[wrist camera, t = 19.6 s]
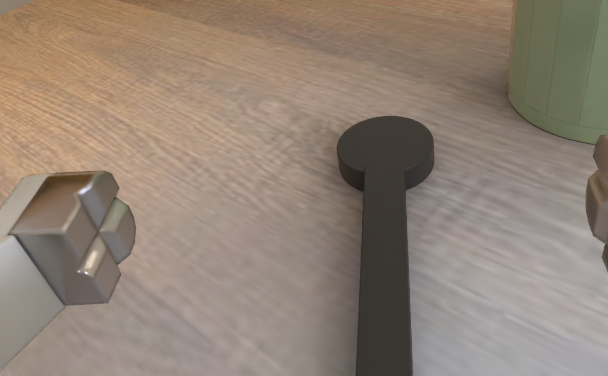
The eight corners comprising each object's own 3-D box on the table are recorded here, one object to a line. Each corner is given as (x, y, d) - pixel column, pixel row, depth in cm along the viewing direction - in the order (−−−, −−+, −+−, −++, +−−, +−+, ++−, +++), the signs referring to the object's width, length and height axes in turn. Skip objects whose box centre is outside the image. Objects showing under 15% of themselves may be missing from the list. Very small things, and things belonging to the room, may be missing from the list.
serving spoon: (496, 759, 13) (499, 752, 13) (286, 731, 14) (275, 723, 14) (430, 132, 33) (430, 110, 32) (342, 138, 34) (339, 117, 33)
